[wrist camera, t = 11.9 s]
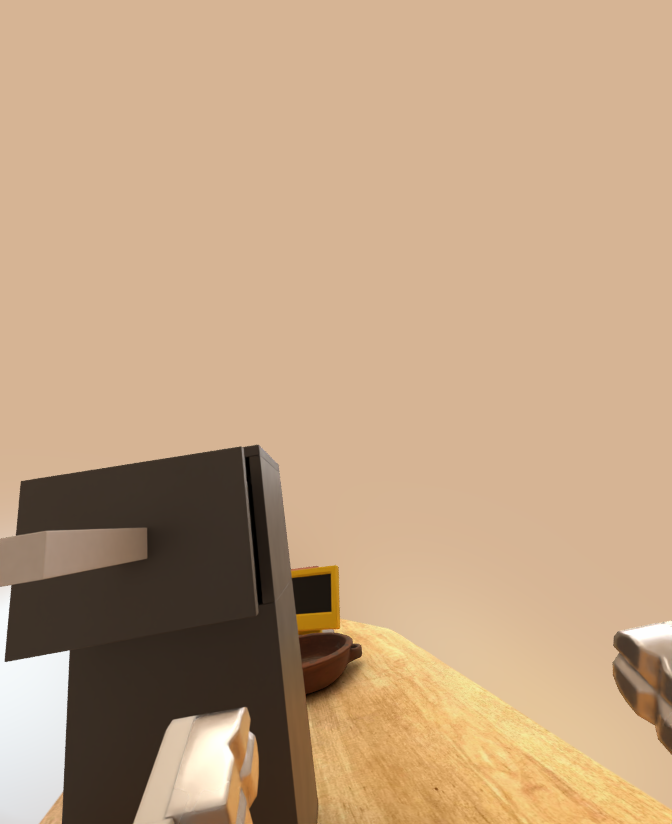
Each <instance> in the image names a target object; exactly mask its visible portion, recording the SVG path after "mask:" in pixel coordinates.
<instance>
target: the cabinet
mask: <svg viewBox="0 0 672 824" xmlns="http://www.w3.org/2000/svg"><path fill="white" fill-rule="evenodd" d="M242 448H244V456H245V468H246V479H247V482H248V483H251V484H252V494H253V505H254V516H255V526H256V537H257V548H258V559H259V569H260V580H261V591H262V596H261V597H260V598H259V599H258V600H257V601H258V612H259V613H258V614H257V616H254V617H249V618H243V619H238V620H233V621H227V622H222V623H216V624H211V625H205V626H200V627H194V628H189V629H183V630H178V631H172V632H167V633H161V634H156V635H150V636H145V637H139V638H134V639H129V640H123V641H118V642H112V643H107V644H101V645H96V646H90V647H85V648H79V649H74V650H70V659H69V680H68V701H67V724H66V725H67V726H66V747H65V769H64V790H63V812H62V824H133V823H134V820H135V817H136V814H137V811H138V809H139V806H140V803H141V800H142V797H143V794H144V792H145V789H146V786H147V783H148V780H149V777H150V775H151V772H152V769H153V766H154V763H155V760H156V758H157V755H158V752H159V749H160V746H161V743H162V741H163V738H164V735H165V732H166V730H167V728H168V726H169V725H170V723H171V722H172V720H174V719H180V718H185V717H190V716H196V715H201V714H207V713H213V712H219V711H225V710H231V709H237V708H243V707H247V709H248V712H249V715H250V719H251V720H250V727H249V731H250V732H251V733H252V734H254V735H255V738H256V742H257V747H258V756H259V778H258V789H257V796H256V798H255V800H254V801H253V803H252V805H251V807H250V808H249V811H250V815H251V818H252V822H253V824H317V814H318V798H317V790H316V781H315V772H314V764H313V755H312V747H311V738H310V730H309V721H308V713H307V704H306V695H305V687H304V678H303V670H302V661H301V653H300V644H299V636H298V627H297V619H296V610H295V601H294V593H293V584H292V576H291V568H290V559H289V551H288V542H287V534H286V525H285V516H284V508H283V499H282V491H281V482H280V473H279V466H278V464H277V463H276V462H275V461H274V460H273V459H272V458H271V457H270V456H269V455H268V454H267V453H266V452H265V451H264V450H263V449H262V448H261V447H260V446H259V445H254V446H247V447H242Z"/></svg>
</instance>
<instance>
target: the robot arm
mask: <svg viewBox="0 0 672 824" xmlns="http://www.w3.org/2000/svg"><path fill="white" fill-rule="evenodd" d="M613 646H614V647H615V648H616V649H617V650H618V651H619V654H618V656H617V657H616V659H615V660H614V661H613V676H614V679H615V682H616V684H617V687H618V689H619V691H620V693H621V694H622V696H623V697H624V699H625V700H626V702H627V703H628V704H629V706H630V707H631V708H632V709H633V710H634V712H635V713H636V714H637V715H638V716H640V717H641V718H643V719H645V720H647V721H648V722H650V723H652V724H653V725H655V728H656V732H657V736H658V740H659V741H660V742H661V743H662V744H663V745H664V746H665V748H666V749H667V750H668V751H669V752H670V753H671V754H672V621H668V622H663V623H655V624H650V625H646V626H641V627H637V628H632V629H628V630H623V631H618V632H617V633H616V635H615V636H614V644H613ZM250 720H251V719H250V715H249V712H248V709H247V707H243V708H237V709H231V710H225V711H219V712H213V713H207V714H201V715H196V716H190V717H185V718H180V719H174V720H172V722H171V723H170V725H169V726H168V728H167V730H166V732H165V735H164V738H163V741H162V743H161V746H160V749H159V752H158V755H157V758H156V760H155V763H154V766H153V769H152V772H151V775H150V777H149V780H148V783H147V786H146V789H145V792H144V794H143V797H142V800H141V803H140V806H139V809H138V811H137V814H136V817H135V820H134V823H133V824H253V822H252V818H251V815H250V811H249V808H250V807H251V805H252V803H253V801H254V800H255V798H256V796H257V789H258V778H259V756H258V747H257V742H256V738H255V735H254V734H252V733H251V732H250V731H249V727H250Z"/></svg>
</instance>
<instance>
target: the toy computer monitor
mask: <svg viewBox="0 0 672 824" xmlns="http://www.w3.org/2000/svg"><path fill="white" fill-rule="evenodd" d="M338 571H339V570H338V566H336V565H335V566H326V567H318V566H313V567H306V568H298V569H291V576H292V584H293V593H294V601H295V610H296V619H297V627H298V636H301V635H306V634H311V633H327V632H332V633H334V630H333V629H340V608H339V572H338Z"/></svg>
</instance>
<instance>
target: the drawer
mask: <svg viewBox="0 0 672 824" xmlns="http://www.w3.org/2000/svg"><path fill="white" fill-rule="evenodd" d="M8 585H11V598H10V608H9V619H8V630H7V641H6V653H5V662H8V661H13V660H18V659H24V658H30V657H35V656H41V655H46V654H52V653H57V652H63V651H68V650H74V649H79V648H85V647H90V646H96V645H101V644H107V643H112V642H118V641H123V640H129V639H134V638H139V637H145V636H150V635H156V634H161V633H167V632H172V631H178V630H183V629H189V628H194V627H200V626H205V625H211V624H216V623H222V622H227V621H233V620H238V619H243V618H249V617H254V616H257V614H258V613H259V612H258V601H257V600H258V599H259V598H260V597H261V596H262V591H261V580H260V569H259V559H258V548H257V537H256V526H255V516H254V505H253V494H252V484H251V483H248V482H247V479H246V468H245V456H244V448H242V447H235V448H228V449H222V450H216V451H210V452H203V453H197V454H190V455H184V456H178V457H172V458H165V459H159V460H152V461H146V462H140V463H134V464H127V465H121V466H114V467H108V468H102V469H96V470H89V471H83V472H76V473H71V474H64V475H57V476H51V477H45V478H38V479H32V480H26V481H21V486H20V497H19V510H18V519H17V530H16V536H12V537H6V538H1V539H0V587H2V586H8Z"/></svg>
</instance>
